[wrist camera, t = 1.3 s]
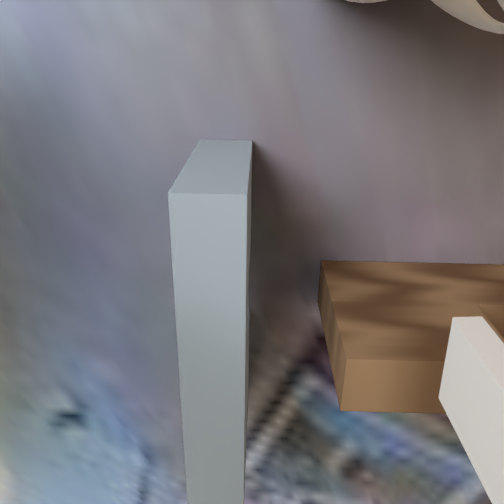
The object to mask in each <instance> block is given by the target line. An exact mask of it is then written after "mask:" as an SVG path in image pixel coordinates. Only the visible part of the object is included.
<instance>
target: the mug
mask: <svg viewBox="0 0 504 504" xmlns="http://www.w3.org/2000/svg"><path fill="white" fill-rule="evenodd" d="M346 1H349V2H357V3H375V2H381V1H386V0H346ZM431 1H432V2H433V3H435V4H436V5H437V6H438V7H440V8H441V9H443V10H444V11H446V12H447V13H449V14H450V15H452V16H454V17H455V18H457V19H459V20H461V21H463V22H465V23H467V24H469V25H471V26H473V27H476V28H479V29H482V30H485V31H489V32H493V33H497V34H504V23H501V22H499V21H497V20H495V19H494V18H492V17H491V16H490V15H489V14H487V13H486V12H485V11H484V9H483V8H482V7H481V6H480V5H479V3H478V2H477V0H431ZM497 2H498V3H499V4H500V6H501V7H502V9H503V11H504V0H497Z"/></svg>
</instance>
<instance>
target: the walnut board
mask: <svg viewBox="0 0 504 504" xmlns="http://www.w3.org/2000/svg"><path fill="white" fill-rule="evenodd" d="M318 305H319V310H320V315H321V320H322V325H323V330H324V334H325V339H326V344H327V349H328V354H329V359H330V363H331V368H332V373H333V378H334V383H335V388H336V392H337V397H338V402H339V407H340V411H367V412H404V413H442V414H446V412H445V410H444V408H443V406H442V404H441V402H440V400H439V398H438V397H439V391H440V386H441V380H442V375H443V369H444V363H445V358H446V352H447V347H448V341H449V335H450V330H451V324H452V318H453V317H475V316H482V317H483V318H484V319H485V321H486V322H487V323H488V324H489V326H490V327H491V328H492V329H493V331H494V332H495V333H496V334H497V336H498V337H499V338H500V339H501V341H502V342H503V343H504V265H497V264H453V263H409V262H365V261H321V268H320V279H319V291H318Z"/></svg>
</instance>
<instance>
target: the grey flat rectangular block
mask: <svg viewBox="0 0 504 504" xmlns="http://www.w3.org/2000/svg"><path fill="white" fill-rule="evenodd" d="M251 195H252V141H251V140H199V142H198V143H197V145H196V147H195V149H194V150H193V152H192V154H191V155H190V157H189V159H188V160H187V162H186V164H185V165H184V167H183V169H182V170H181V172H180V174H179V175H178V177H177V179H176V180H175V182H174V184H173V185H172V187H171V189H170V190H169V192H168V205H169V221H170V237H171V252H172V268H173V284H174V300H175V316H176V332H177V348H178V364H179V380H180V395H181V411H182V427H183V443H184V459H185V475H186V491H187V504H244V488H245V463H246V438H247V413H248V388H249V324H250V308H248V288H249V270H250V252H251Z"/></svg>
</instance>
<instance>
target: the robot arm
mask: <svg viewBox="0 0 504 504" xmlns="http://www.w3.org/2000/svg"><path fill="white" fill-rule="evenodd" d="M438 398H439V400H440V402H441V404H442V406H443V408H444V410H445V412H446V414H447V416H448V418H449V420H450V422H451V424H452V426H453V428H454V429H455V431H456V433H457V435H458V437H459V439H460V441H461V443H462V445H463V447H464V449H465V451H466V453H467V455H468V457H469V459H470V461H471V463H472V465H473V467H474V469H475V471H476V473H477V475H478V477H479V479H480V481H481V483H482V485H483V487H484V489H485V491H486V493H487V495H488V497H489V498H490V500H491V502H492V504H504V343H503V342H502V341H501V339H500V338H499V337H498V336H497V334H496V333H495V332H494V331H493V329H492V328H491V327H490V326H489V324H488V323H487V322H486V321H485V319H484V318H483V317H482V316H475V317H453V318H452V324H451V330H450V335H449V341H448V347H447V352H446V358H445V363H444V369H443V375H442V380H441V386H440V391H439V397H438Z"/></svg>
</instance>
